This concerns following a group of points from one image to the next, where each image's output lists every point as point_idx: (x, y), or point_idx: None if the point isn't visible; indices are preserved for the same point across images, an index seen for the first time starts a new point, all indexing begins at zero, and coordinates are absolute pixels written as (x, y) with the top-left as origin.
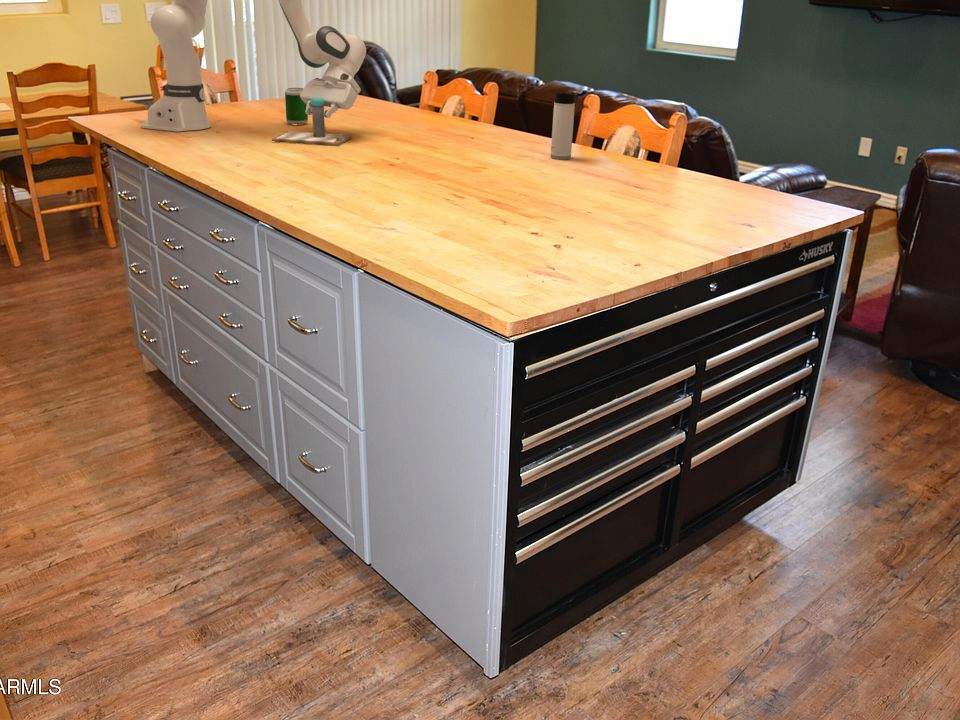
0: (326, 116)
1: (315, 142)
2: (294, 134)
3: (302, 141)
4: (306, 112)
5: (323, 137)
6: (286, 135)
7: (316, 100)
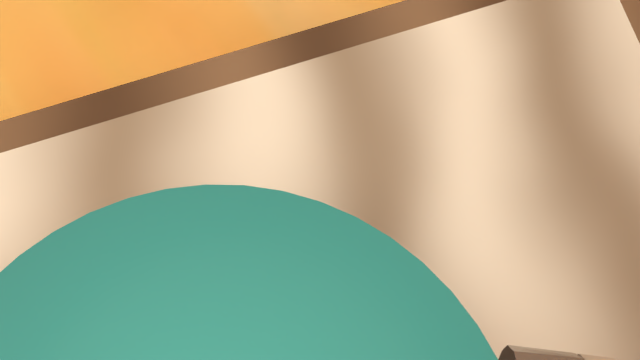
0: None
1: (159, 75)
2: (610, 272)
3: (299, 33)
4: (574, 354)
5: None
6: (636, 166)
7: (107, 219)
